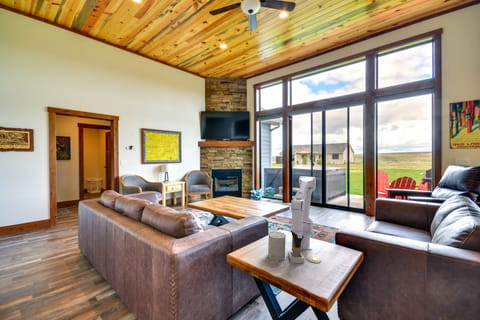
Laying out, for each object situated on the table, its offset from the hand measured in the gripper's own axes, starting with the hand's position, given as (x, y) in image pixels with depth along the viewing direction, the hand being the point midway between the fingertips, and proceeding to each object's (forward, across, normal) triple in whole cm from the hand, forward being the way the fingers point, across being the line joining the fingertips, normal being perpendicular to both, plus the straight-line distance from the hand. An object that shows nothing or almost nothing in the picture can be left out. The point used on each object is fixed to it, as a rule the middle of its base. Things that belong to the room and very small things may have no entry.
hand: (296, 245), depth 115 cm
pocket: (+8, 0, 0) cm, 8 cm away
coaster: (+8, -1, +10) cm, 13 cm away
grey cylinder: (+8, -2, -10) cm, 13 cm away
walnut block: (+3, 0, 0) cm, 3 cm away
